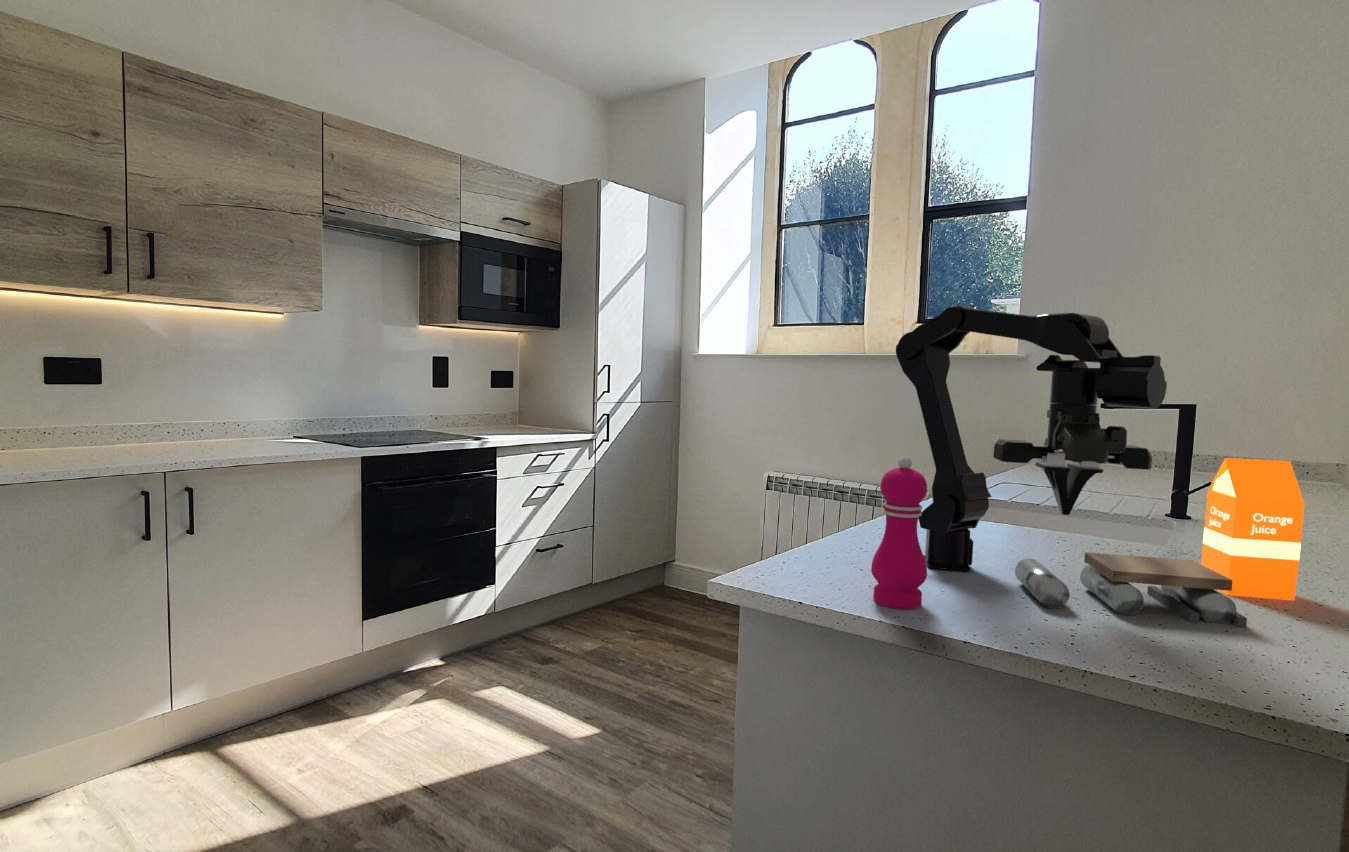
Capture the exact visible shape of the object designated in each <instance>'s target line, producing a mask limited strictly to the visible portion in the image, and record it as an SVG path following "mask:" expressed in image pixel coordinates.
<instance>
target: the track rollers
mask: <svg viewBox="0 0 1349 852" xmlns="http://www.w3.org/2000/svg"><path fill="white" fill-rule="evenodd" d="M1014 575H1015V577H1016V579H1017V580H1018V581H1019V582H1020V583H1021V585H1023V587H1025V589H1027V590H1028V592H1029V593H1030V594H1031V595H1033V597H1034V598H1036V600H1037V601H1038V602H1039V603H1040V604H1041V605H1042V606H1044V607H1046V608H1048V609H1060V608H1062V607H1063V606H1065V605H1066V604H1067V602H1068V601H1069V599H1070V590H1069V587H1068V586H1067V585H1066V584H1065V583H1064V582H1063V581H1062V580H1061V579H1060V578H1058V577H1057V576H1056V575H1055V574H1054V573H1052V572H1051V571H1050V570H1049V569H1048V568H1046V567H1045V566H1044V565H1043V564H1042V563H1041V562H1040V561H1038V560H1037V559H1035V558H1023V559H1022V560H1020V561H1019V562H1018V563H1017V564H1016V566H1015V568H1014ZM1079 577H1080V582H1081V584H1082V586H1084V587H1085V588H1086V589H1088V591H1090V592H1091V593H1093V594H1094V595H1095V596H1096V597H1098V599H1100V600H1101V601H1102V602H1104V603H1105V604H1106V605H1107V606H1109V607H1110V608H1112V609H1113V610H1114V611H1115V612H1117V613H1118V614H1120V615H1123V616H1133V615H1135V614H1137V613H1139V612H1140V611H1141V610H1142V608H1143V607H1144V603H1145V599H1144V595H1143V593H1142V592H1141V590H1139V588H1137V587H1136V586H1134V585H1132V583H1130V582H1117V581H1111V580H1110V579H1109V578H1107V577H1106V576H1104V575H1103V574H1101V573H1100V572H1099V571H1097V570H1096V569H1094V568H1093V567H1091V566H1090V565H1089V564H1087V565H1086V566H1084V567H1083V569H1081V571H1080V575H1079Z"/></svg>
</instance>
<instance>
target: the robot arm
mask: <svg viewBox="0 0 1349 852" xmlns="http://www.w3.org/2000/svg"><path fill="white" fill-rule="evenodd" d="M969 333H976V334H982V335H983V334H984V335H990V336H996V337H1002V338H1008V339H1016V340H1021V341H1025V342H1028V343H1031V344H1033V345H1035V346H1037V347H1040V348H1041V349H1044V350H1048V351H1050V352H1054V353H1056V354H1049V356H1048V357H1047V358H1046V359H1045V360H1044V361H1043V362H1041V363H1040V364H1038V365H1037V366H1036V368H1035V369H1036V370H1037V371H1039V372H1051V384H1050V385H1051V386H1050V399H1049V409H1047V413H1046V417H1047V418H1048V428H1047V437H1046V438H1045V439H1044V440H1045V441H1044V446H1042V445H1041V446H1040V445H1034V444H1033V442H1029V441H1027V440H1022V439H1020V440H1019V439H1004V438H1002V439H998V440H997V441H996V442H995V444H994V446H993V458H994V459H995V460H998V461H1000V462H1003V463H1004V462H1005V463H1017V464H1018V463H1019V464H1028V463H1029V462H1030V461H1032V460H1033V459H1037V460H1038V461H1036V462H1035V463H1034V465H1035V467H1038V468H1040V469H1041V470H1043V472H1044V474H1045V476H1046V478H1047V479H1048V482H1049V484H1050V486H1051V489H1052V492H1053V495H1054V498H1055V501H1056V503H1057V506H1058V510H1059V512H1060V513H1059V514H1061V515H1063V516H1070V514H1071V513H1072V510H1073V508H1074V506H1075V504H1076V502H1077V499H1078V498H1079V496H1080V493H1081V492H1082V491H1083V488H1084V487H1085V486H1086V484H1087V483H1088V481H1089V480H1090V479H1091V478H1092V477H1093V476H1094V475H1096V474H1103V472H1104V469H1103V468H1100V466H1101V464H1106V463H1108V464H1114V465H1115V464H1117V465H1122V466H1123V467H1124V468H1125V469H1131V470H1152V464H1153V463H1152V462H1153V456H1152V454H1151V451H1149V450H1148V448H1146V447H1141V446H1136V445H1129V444H1127V442H1128V440H1127V439H1128V430H1127V429H1126V427H1124V426H1115V425H1109V426H1107V427H1106V428H1101V425H1100V413H1099V412H1097V407H1098V399H1099V400H1102V402H1103V404H1105V406H1107V407H1117V408H1118V407H1121V408H1135V409H1138V408H1140V409H1153V410H1154V409H1158V408H1159V407H1161V405H1162V403H1163V402H1164V399H1165V397H1166V394H1167V386H1168V385H1167V384H1168V381H1166V377H1165V372H1164V369H1163V367H1162V365H1161V361H1162V360H1161V359H1162V358H1161V356H1160V355H1146V354H1145V355H1140V356H1123V354H1122V353H1121V351H1120V350H1119V349H1118V348H1117V346H1116V345H1115V343H1114V342H1113V341H1112V339H1111V338H1110V337H1109V335H1110V331H1109V327H1108V325H1107V323H1106V322H1105V320H1104V319H1102V318H1101V317H1099V316H1096V315H1091V314H1081V313H1076V312H1064V313H1063V312H1062V313H1061V312H1059V313H1046V314H1039V315H1026V314H1018V313H1010V312H1009V313H1008V312H1001V311H993V310H988V309H987V310H986V309H976V308H974V307H972V306H967V305H966V306H965V305H959V304H956V305H955V304H954V305H951V306H949V307H947V308H945V310H944V311H941V313H940V314H939V315H937V316H935V317H933V318H931V319H929V320H928V321H926V322H924V323H922V324H919V325H918V326H916V327H915V328H914V329H913V330H912V331H910V332H906V333H905V334H903V335H902V336H901V338H900V339H899V341H898V342H897V344H896V345H895V355H896V359H897V360H898V363H899V365H900V368H901V370H902V372H903V373H904V375H905V376H906V378H907V379H908V380H909V381H910V383H911V384H913V386H914V389H915V390H916V395H917V398H918V403H919V406H920V410H921V415H922V418H923V423H924V428H925V430H926V434H927V439H928V442H929V446H930V452H931V455H932V458H933V463H934V468H935V473H934V477H933V481H932V486H931V494H932V495H931V496H932V502H931V504H930V505H928V506H927V507H926V508H925V509H923V510H921V513H922V515H921V516H920V517H918V521H919V526H920V528H921V529H924V530H926V536H925V550H924V551H925V552H924V553H925V554H923V556H924V558H925V562H926V566H927V568H930V569H938V570H939V569H940V570H950V571H951V570H952V571H965V572H971V570H972V568H971V566H972V565H973V556H974V555H973V553H974V540H973V539H972V538H971V529H976V528H977V526H978V524H979V522H980V520H981V519H982V517H984V516H985V514H987V511H988V510H989V508H990V500H989V498H992V495H991V493H990V491H989V489H988V487H987V478H986V475H985V473H984V472H977V473H976V472H974V470H973V469H972V468H971V467H970V465H969V464H968V461H967V459H966V457H967V456H966V455H965V451H964V447H963V442H962V437H961V435H960V431H959V427H958V423H957V419H956V416H955V412H954V407H953V403H952V400H951V397H950V396H951V395H950V392H949V388H948V384H947V383H948V382H947V377H948V373H949V369H950V365H951V362H950V361H951V360H950V353H952V352H953V351H954V350H955V349H957V348H958V347H959V346H960V345H961V343H962V342H963V341H964V339H965V338H966V336H967V335H968V334H969ZM1059 354H1060V355H1063V356H1073V357H1074V358H1076V359H1062V357H1061V356H1060V355H1059ZM1087 363H1099V367H1088V365H1087ZM1061 450H1062V451H1061ZM1066 461H1070V462H1072V463H1067V464H1065V463H1066Z"/></svg>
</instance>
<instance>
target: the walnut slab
mask: <svg viewBox="0 0 1349 852" xmlns="http://www.w3.org/2000/svg"><path fill="white" fill-rule="evenodd" d="M1083 561H1084V563H1086V564H1087V565H1090V566H1091V567H1093V568H1094V569H1096V570H1097V571H1099V572H1100V573H1101V574H1103V575H1104V576H1106V577H1107V578H1109V579H1110V580H1111V581H1117V582H1128V583H1129V584H1132V583H1134V584H1142V585H1143V584H1145V585H1154V586H1161V585H1166V586H1178V587H1190V588H1202V589H1214V590H1215V591H1218V590H1227V591H1232V583H1233V580H1231V579H1229V578H1227V577H1225V576H1223V575H1221V574H1219V573H1217V572H1215V571H1213V570H1211V569H1209V568H1207V567H1205V566H1203V565H1201V563H1199V562H1197V561H1194V560H1192V559H1181V558H1179V559H1178V558H1167V557H1166V558H1164V557H1151V556H1141V555H1140V556H1139V555H1125V554H1115V553H1114V554H1113V553H1101V552H1087V551H1086V552H1084V560H1083Z"/></svg>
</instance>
